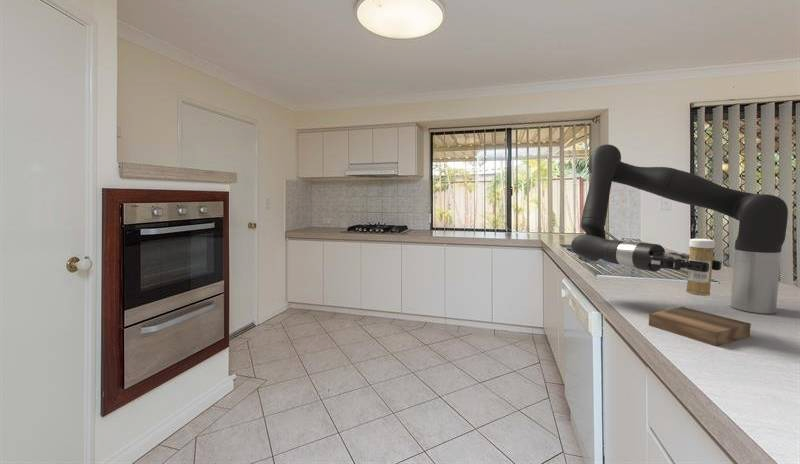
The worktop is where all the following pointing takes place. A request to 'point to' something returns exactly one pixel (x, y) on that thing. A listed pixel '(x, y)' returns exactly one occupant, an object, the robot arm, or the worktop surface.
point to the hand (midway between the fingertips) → (713, 266)
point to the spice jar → (697, 279)
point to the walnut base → (700, 325)
